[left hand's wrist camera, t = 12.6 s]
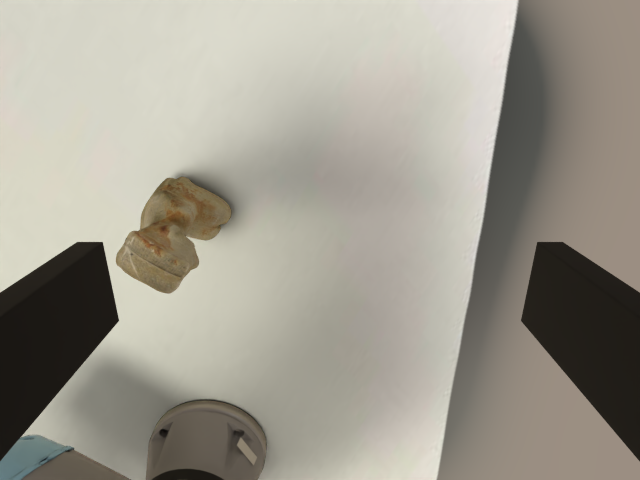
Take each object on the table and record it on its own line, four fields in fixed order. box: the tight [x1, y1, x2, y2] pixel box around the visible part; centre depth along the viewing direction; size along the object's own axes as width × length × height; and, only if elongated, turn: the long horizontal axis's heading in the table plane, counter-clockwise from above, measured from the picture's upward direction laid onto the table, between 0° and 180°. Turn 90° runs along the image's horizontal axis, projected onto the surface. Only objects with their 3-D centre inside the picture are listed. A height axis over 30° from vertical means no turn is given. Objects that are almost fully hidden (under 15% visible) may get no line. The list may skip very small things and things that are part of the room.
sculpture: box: [116, 177, 231, 293], centre depth 36 cm, size 6×7×15 cm
